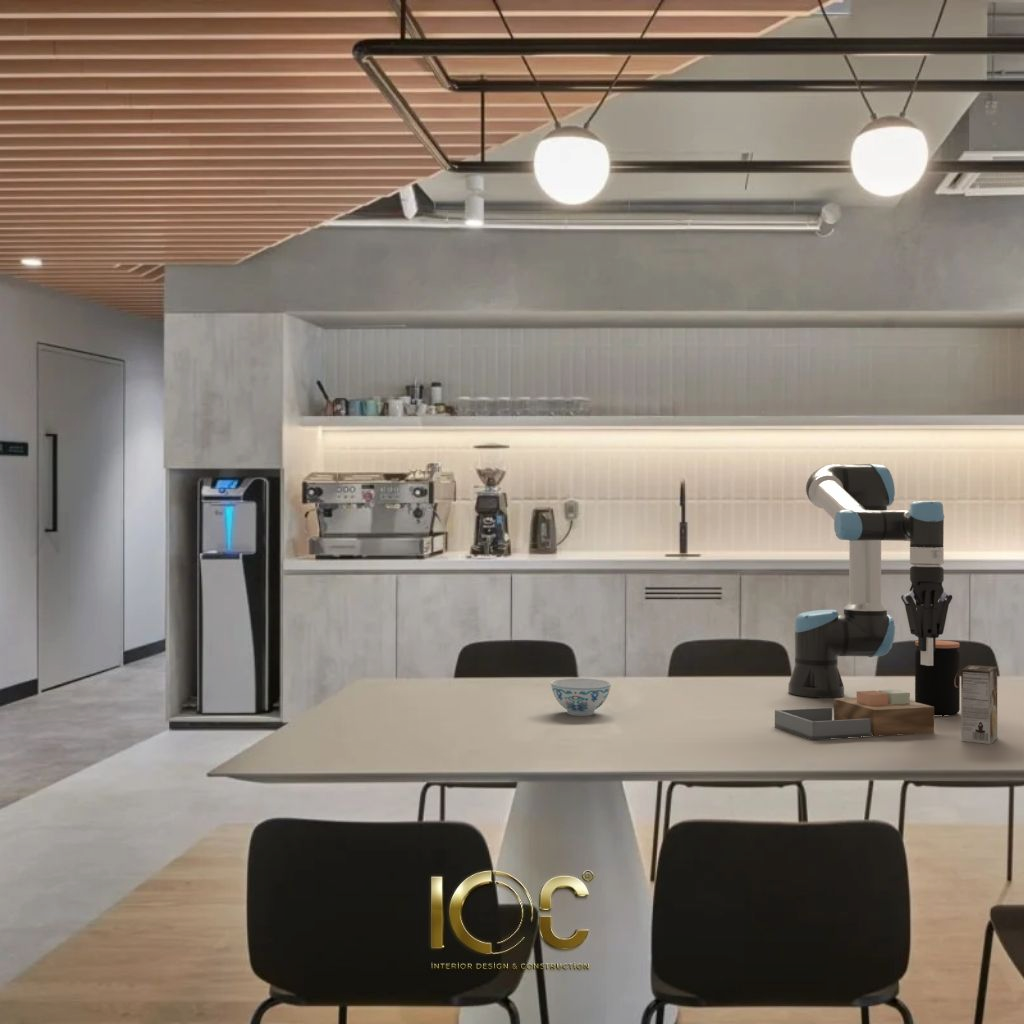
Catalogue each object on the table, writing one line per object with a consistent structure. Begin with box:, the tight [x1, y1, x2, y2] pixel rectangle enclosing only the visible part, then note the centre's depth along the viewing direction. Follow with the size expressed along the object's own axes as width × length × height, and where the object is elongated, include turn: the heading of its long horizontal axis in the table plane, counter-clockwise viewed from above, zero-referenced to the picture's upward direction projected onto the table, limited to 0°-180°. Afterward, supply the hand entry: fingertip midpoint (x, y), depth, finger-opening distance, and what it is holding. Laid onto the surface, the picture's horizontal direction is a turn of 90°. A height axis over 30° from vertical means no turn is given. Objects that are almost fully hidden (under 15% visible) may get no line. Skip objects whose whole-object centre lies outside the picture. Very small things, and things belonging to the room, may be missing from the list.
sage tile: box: [877, 689, 911, 704], centre depth 258 cm, size 5×5×2 cm
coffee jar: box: [914, 639, 961, 717], centre depth 278 cm, size 11×11×18 cm
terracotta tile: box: [856, 690, 888, 705], centre depth 256 cm, size 5×5×2 cm
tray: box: [774, 706, 873, 741], centre depth 252 cm, size 16×16×4 cm
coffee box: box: [960, 664, 998, 745], centre depth 244 cm, size 9×6×16 cm
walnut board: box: [833, 697, 935, 737], centre depth 257 cm, size 16×16×6 cm
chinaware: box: [550, 677, 612, 717], centre depth 275 cm, size 15×15×8 cm
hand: (926, 664), depth 260 cm, fingers closed
